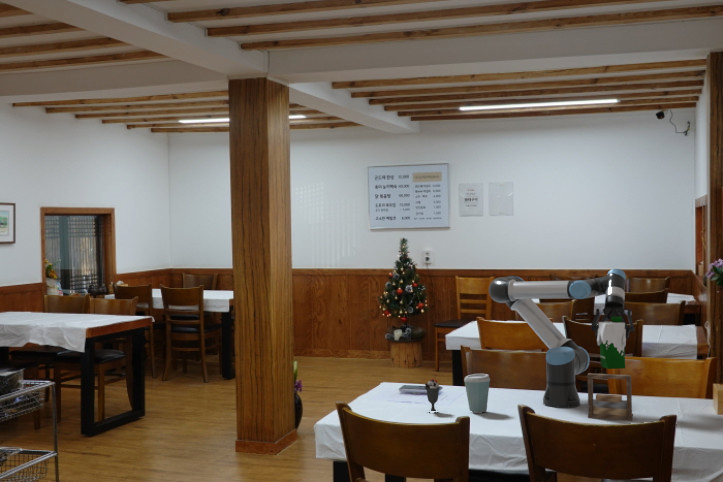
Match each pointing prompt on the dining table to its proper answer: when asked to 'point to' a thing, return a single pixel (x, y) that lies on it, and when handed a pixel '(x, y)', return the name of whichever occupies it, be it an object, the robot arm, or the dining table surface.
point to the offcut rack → (610, 400)
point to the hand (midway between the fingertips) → (611, 343)
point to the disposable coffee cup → (477, 391)
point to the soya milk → (612, 343)
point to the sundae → (432, 392)
